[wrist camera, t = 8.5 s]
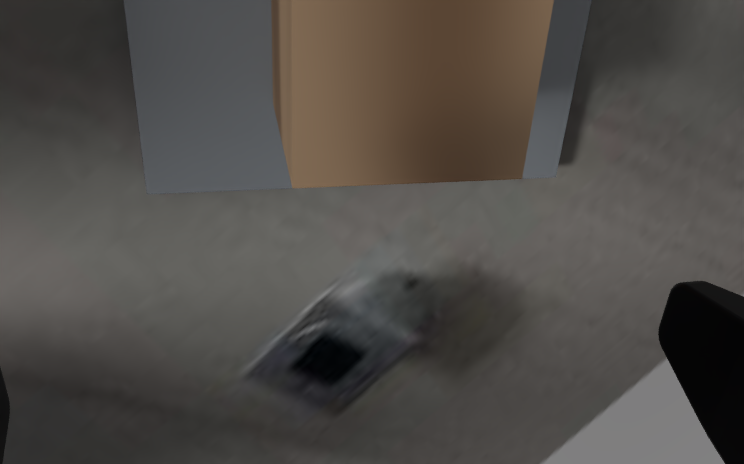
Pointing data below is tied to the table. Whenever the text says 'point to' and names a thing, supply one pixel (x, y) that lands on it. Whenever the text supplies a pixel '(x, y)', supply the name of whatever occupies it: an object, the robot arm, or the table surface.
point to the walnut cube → (406, 88)
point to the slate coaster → (255, 93)
